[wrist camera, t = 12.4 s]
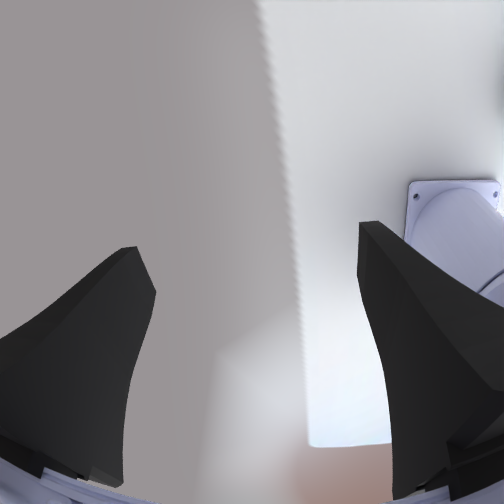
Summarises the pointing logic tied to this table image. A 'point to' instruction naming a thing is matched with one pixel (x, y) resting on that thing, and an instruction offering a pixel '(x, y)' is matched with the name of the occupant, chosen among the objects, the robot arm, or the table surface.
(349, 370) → the table surface
